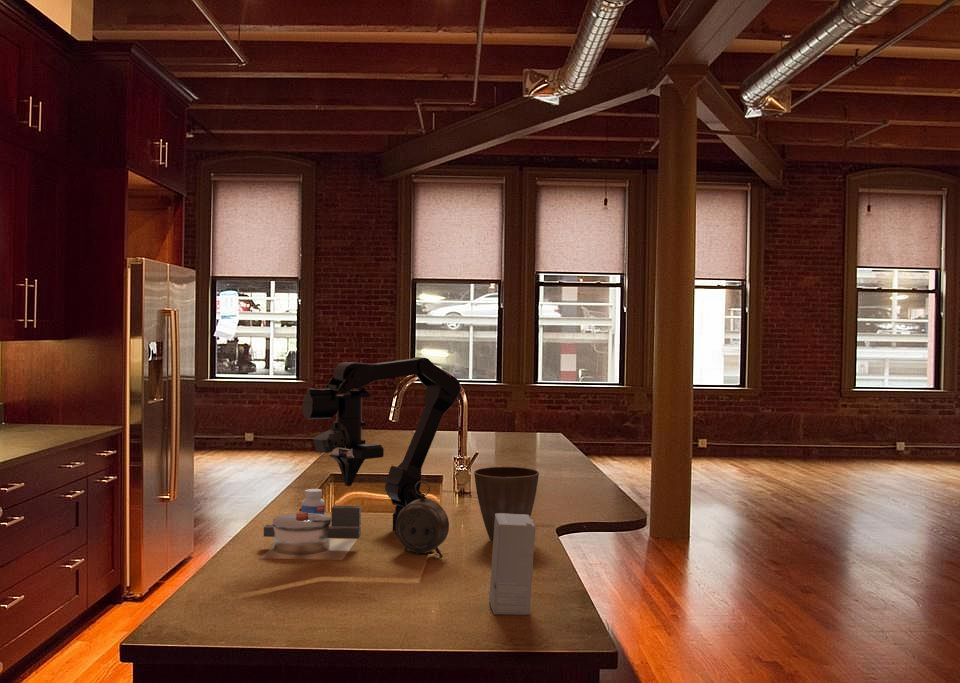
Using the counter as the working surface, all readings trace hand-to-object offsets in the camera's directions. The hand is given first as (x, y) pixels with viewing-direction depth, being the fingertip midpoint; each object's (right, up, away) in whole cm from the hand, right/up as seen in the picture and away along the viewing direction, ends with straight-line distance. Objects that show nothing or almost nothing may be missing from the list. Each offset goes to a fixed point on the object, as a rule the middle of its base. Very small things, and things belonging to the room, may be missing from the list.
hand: (348, 485), depth 202 cm
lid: (-5, -7, -11) cm, 14 cm away
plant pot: (+36, -13, +2) cm, 38 cm away
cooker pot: (-6, -12, -11) cm, 17 cm away
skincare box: (+35, -14, -48) cm, 61 cm away
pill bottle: (-10, -13, +9) cm, 19 cm away
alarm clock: (+17, -13, -13) cm, 26 cm away
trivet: (-6, -13, -11) cm, 18 cm away
